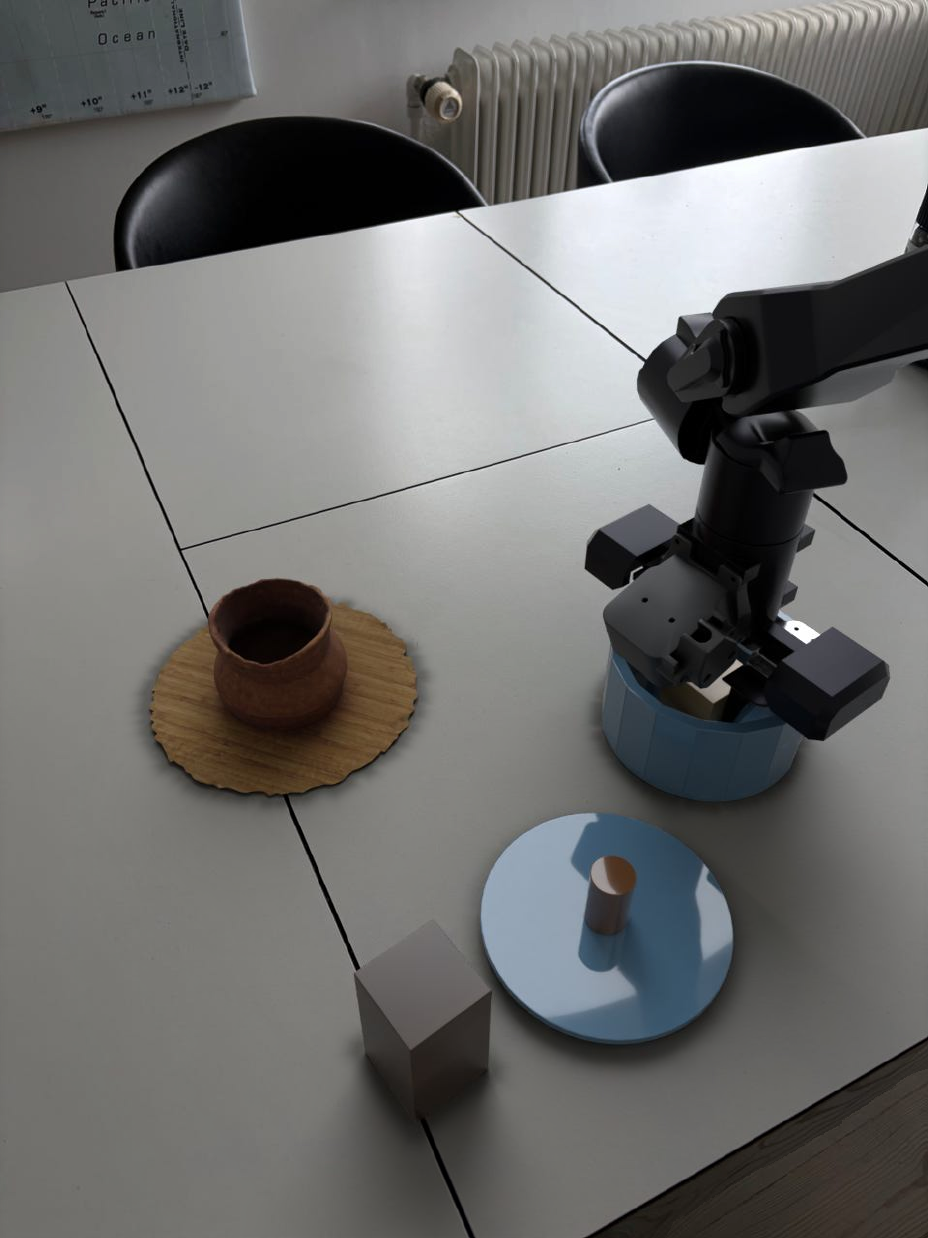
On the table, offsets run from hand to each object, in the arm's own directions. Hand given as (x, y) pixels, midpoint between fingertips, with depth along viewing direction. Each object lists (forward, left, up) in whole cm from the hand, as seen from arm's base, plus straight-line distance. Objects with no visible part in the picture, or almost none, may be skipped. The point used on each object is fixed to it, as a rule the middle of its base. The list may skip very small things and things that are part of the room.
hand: (702, 707), depth 65 cm
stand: (-7, +27, -2) cm, 28 cm away
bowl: (0, 0, -2) cm, 2 cm away
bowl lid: (-7, +15, -1) cm, 17 cm away
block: (0, 0, 0) cm, 0 cm away
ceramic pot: (+19, +20, -2) cm, 28 cm away
